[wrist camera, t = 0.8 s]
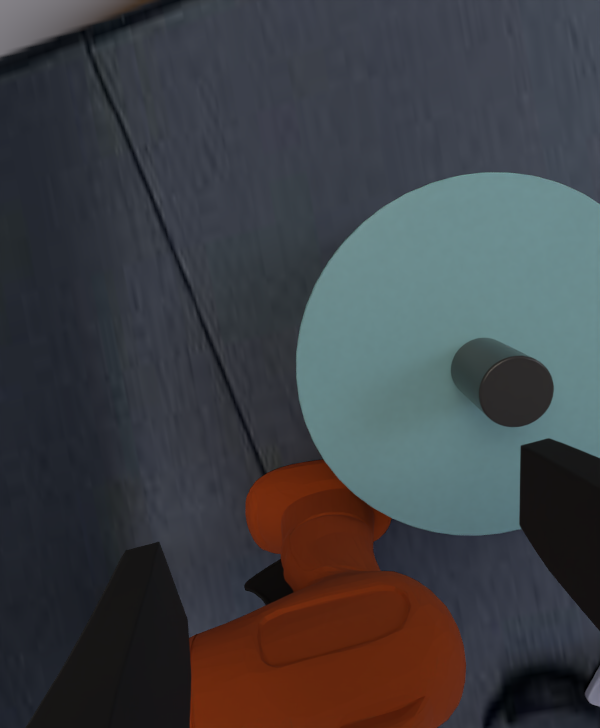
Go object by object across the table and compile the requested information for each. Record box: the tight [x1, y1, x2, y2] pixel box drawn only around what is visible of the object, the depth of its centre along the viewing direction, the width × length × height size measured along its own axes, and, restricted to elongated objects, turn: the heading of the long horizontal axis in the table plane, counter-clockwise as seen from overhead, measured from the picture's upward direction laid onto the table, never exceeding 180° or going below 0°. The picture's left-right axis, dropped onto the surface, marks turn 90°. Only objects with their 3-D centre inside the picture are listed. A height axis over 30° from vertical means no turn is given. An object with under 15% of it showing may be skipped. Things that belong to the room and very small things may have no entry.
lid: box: [296, 172, 600, 536], centre depth 19 cm, size 14×14×5 cm
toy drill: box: [189, 460, 466, 728], centre depth 21 cm, size 5×19×15 cm, turn 101°
